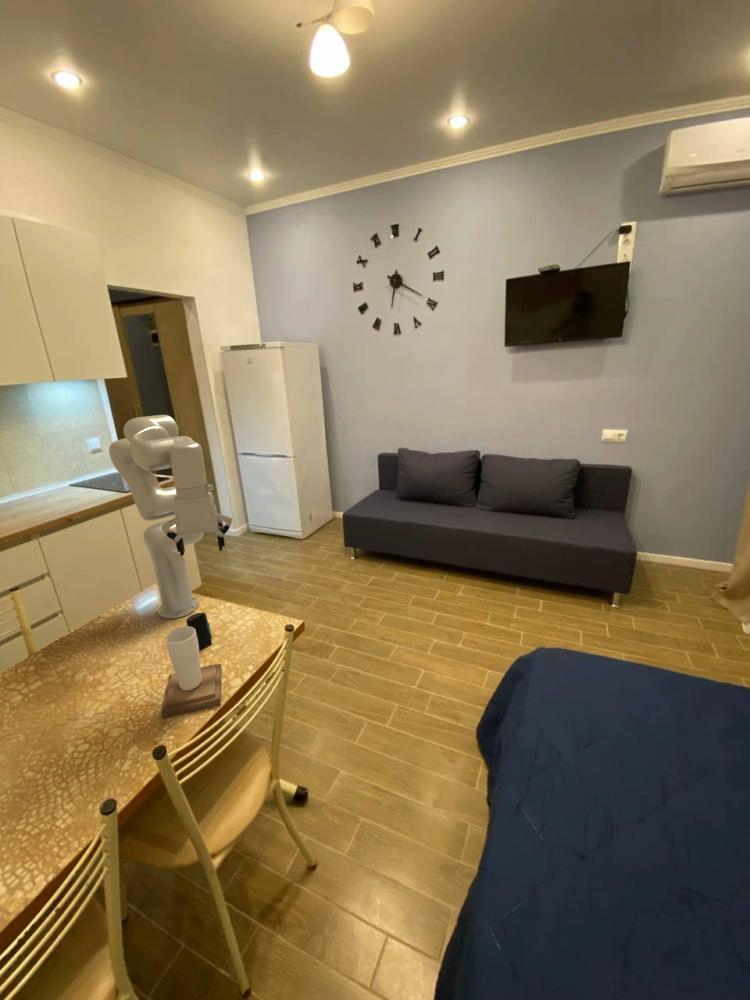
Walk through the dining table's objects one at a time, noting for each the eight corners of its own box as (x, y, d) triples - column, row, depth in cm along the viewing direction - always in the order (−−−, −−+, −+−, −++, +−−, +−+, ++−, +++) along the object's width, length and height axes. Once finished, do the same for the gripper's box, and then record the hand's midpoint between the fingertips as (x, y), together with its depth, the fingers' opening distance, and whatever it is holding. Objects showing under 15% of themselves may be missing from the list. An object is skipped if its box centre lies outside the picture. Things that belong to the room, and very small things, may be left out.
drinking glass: (195, 695, 103) (184, 644, 98) (170, 691, 104) (159, 641, 99) (210, 675, 109) (201, 627, 104) (187, 672, 110) (177, 624, 105)
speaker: (215, 646, 124) (207, 615, 122) (195, 654, 122) (186, 622, 119) (211, 634, 131) (203, 605, 128) (191, 642, 128) (183, 612, 125)
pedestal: (170, 681, 112) (168, 672, 111) (221, 669, 115) (220, 660, 114) (163, 719, 100) (160, 709, 99) (220, 704, 104) (219, 695, 103)
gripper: (228, 483, 112) (236, 541, 118) (157, 489, 108) (169, 549, 114) (227, 492, 106) (235, 552, 112) (152, 499, 101) (164, 562, 107)
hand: (202, 551), depth 113 cm, fingers open, 9 cm apart
